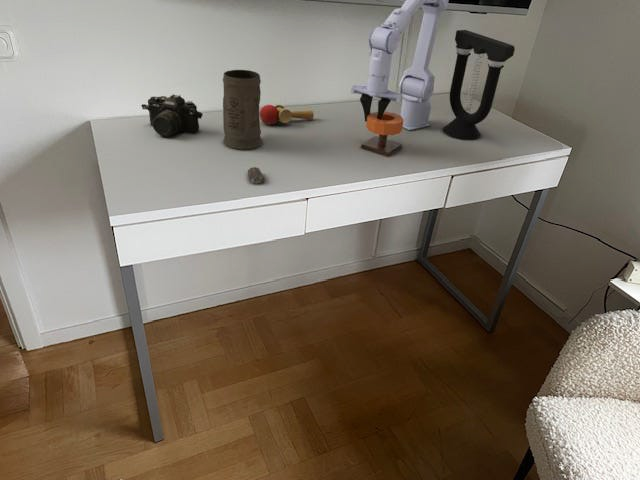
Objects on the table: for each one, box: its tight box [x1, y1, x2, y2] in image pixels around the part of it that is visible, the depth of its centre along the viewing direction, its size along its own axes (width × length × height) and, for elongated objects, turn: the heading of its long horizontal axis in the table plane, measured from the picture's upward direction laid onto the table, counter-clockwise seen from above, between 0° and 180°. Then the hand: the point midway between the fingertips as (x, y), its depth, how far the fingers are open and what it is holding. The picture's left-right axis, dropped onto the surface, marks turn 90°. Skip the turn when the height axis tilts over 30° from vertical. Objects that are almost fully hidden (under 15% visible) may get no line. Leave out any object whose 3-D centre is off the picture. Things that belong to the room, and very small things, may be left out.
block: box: [247, 166, 265, 185], centre depth 124 cm, size 4×6×2 cm, turn 20°
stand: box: [360, 134, 403, 157], centre depth 146 cm, size 9×9×6 cm
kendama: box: [259, 104, 314, 126], centre depth 158 cm, size 8×6×18 cm
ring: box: [365, 111, 404, 136], centre depth 143 cm, size 10×10×3 cm
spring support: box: [442, 29, 516, 141], centre depth 154 cm, size 21×12×30 cm, turn 29°
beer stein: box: [222, 69, 262, 151], centre depth 139 cm, size 15×11×20 cm
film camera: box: [140, 93, 203, 138], centre depth 143 cm, size 18×12×10 cm
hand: (372, 121), depth 145 cm, fingers closed on ring, 3 cm apart
